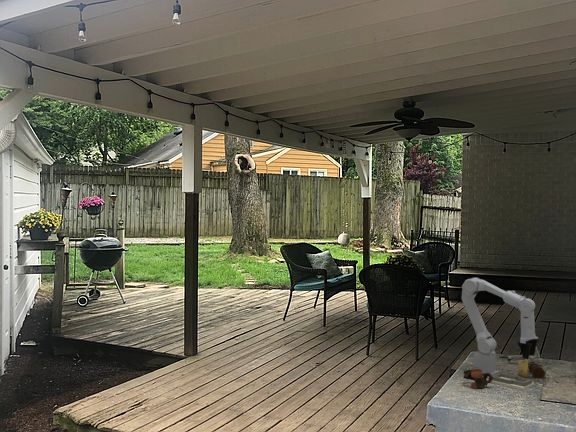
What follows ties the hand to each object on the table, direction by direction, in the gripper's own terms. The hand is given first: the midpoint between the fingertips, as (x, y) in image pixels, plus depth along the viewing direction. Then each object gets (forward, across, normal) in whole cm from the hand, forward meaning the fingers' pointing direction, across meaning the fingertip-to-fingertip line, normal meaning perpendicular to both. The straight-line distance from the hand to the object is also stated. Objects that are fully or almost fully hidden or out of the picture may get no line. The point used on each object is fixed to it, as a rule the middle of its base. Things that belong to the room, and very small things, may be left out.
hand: (528, 356), depth 240 cm
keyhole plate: (+10, -12, +4) cm, 16 cm away
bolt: (+10, +10, +1) cm, 15 cm away
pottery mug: (+10, -25, +13) cm, 30 cm away
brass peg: (+10, -2, +2) cm, 10 cm away
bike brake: (+10, +28, +14) cm, 33 cm away
